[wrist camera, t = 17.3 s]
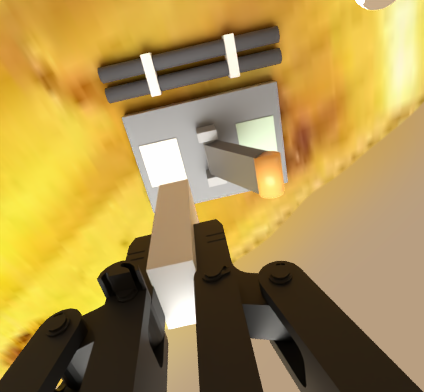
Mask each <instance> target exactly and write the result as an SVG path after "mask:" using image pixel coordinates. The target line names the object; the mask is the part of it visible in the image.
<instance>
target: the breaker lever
mask: <svg viewBox="0 0 424 392" xmlns="http://www.w3.org/2000/svg"><path fill="white" fill-rule="evenodd" d="M203 145H204V149H205V153H206V158H207V162H208V166H209V171H210V174H211V175H213V176H216V177H218V178H221V179H223V180H226V181H228V182H231V183H233V184H236V185H238V186H241V187H243V188H246V189H248V190H251V191H253V192H255V193H258V194H259V195H260V196H261V197H263V198H276V197H279V196H281V195H283V194H284V192H285V189H284V180H283V172H282V163H281V155H280V152H277V151H266V150H261V149H257V148H252V147H247V146H243V145H238V144H234V143H229V142H224V141H220V140H216V141H214V140H212V141H208V142H204V143H203Z"/></svg>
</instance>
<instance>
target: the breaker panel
mask: <svg viewBox="0 0 424 392" xmlns="http://www.w3.org/2000/svg"><path fill="white" fill-rule="evenodd" d="M122 120H123V123H124V126H125V129H126V132H127V135H128V138H129V141H130V144H131V147H132V150H133V153H134V156H135V159H136V162H137V165H138V168H139V171H140V174H141V177H142V180H143V183H144V185H145V188H146V191H147V194H148V197H149V200H150V203H151V206H152V209H153V212H154V213H155V209H156V202H157V196H158V189H159V185H163V184H167V183H172V182H176V181H181V180H185V179H188V182H189V185H190V189H191V193H192V197H193V201H194V204H195V203H200V202H204V201H208V200H213V199H217V198H222V197H226V196H230V195H235V194H239V193H243V192H248V191H251V190H248V189H246V188H243V187H241V186H238V185H236V184H233V183H231V182H228V181H226V180H223V179H221V178H218V177H216V176H213V175H211V174H210V171H209V166H208V162H207V158H206V153H205V149H204V145H203V143H204V142H208V141H212V140H214V141H216V140H220V141H224V142H229V143H234V144H238V145H243V146H247V147H252V148H257V149H261V150H266V151H277V152H280V155H281V163H282V172H283V180H284V183H287V182H288V179H287V170H286V161H285V152H284V143H283V134H282V125H281V116H280V107H279V98H278V89H277V82H276V81H268V82H264V83H260V84H256V85H251V86H247V87H243V88H238V89H234V90H230V91H226V92H221V93H217V94H213V95H208V96H204V97H200V98H196V99H191V100H187V101H183V102H178V103H174V104H170V105H166V106H161V107H157V108H153V109H149V110H144V111H140V112H136V113H131V114H127V115H124V116H123V117H122Z"/></svg>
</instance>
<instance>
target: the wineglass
mask: <svg viewBox="0 0 424 392" xmlns="http://www.w3.org/2000/svg"><path fill="white" fill-rule="evenodd" d="M354 1H355V2H356V4H357V5H359V6H360V7H361V8H363V9H365V10H369V11H378V10H381V9H384V8H386V7H388V6H390V5H391V4H392V3H394V2H395V1H396V0H354Z"/></svg>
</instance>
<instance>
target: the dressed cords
mask: <svg viewBox="0 0 424 392" xmlns="http://www.w3.org/2000/svg"><path fill="white" fill-rule="evenodd" d="M221 37H222V39H219V40H215V41H211V42H206V43H202V44H198V45H194V46H189V47H185V48H181V49H177V50H172V51H168V52H164V53H160V54H155V55H152V53H146V54H142V55H140V57H141V58H138V59H134V60H130V61H126V62H122V63H117V64H113V65H109V66H105V67H100V68H98V74H99V77H100V80H101V81H102V83H108V82H112V81H116V80H121V79H125V78H129V77H133V76H138V75H142V74H145V75H146V78H147V79H144V80H140V81H135V82H131V83H127V84H123V85H118V86H114V87H110V88H106V89H105V94H106V97H107V100H108V101H109V103H114V102H118V101H122V100H126V99H131V98H135V97H139V96H143V95H148V94H151V96H152V97H154V96H158V95H161V94H162V91H165V90H169V89H173V88H178V87H182V86H186V85H190V84H195V83H199V82H203V81H207V80H212V79H216V78H220V77H225V76H228V77H229V78H235V77H239V76H240V73H242V72H246V71H250V70H254V69H259V68H263V67H267V66H272V65H276V64H280V63H281V61H282V55H281V50H280V48H276V49H272V50H267V51H263V52H259V53H254V54H250V55H246V56H242V57H237V53H236V52H240V51H244V50H248V49H252V48H257V47H261V46H265V45H269V44H274V43H278V42H279V38H280V35H279V29H278V27H277V26H274V27H270V28H266V29H261V30H257V31H253V32H249V33H244V34H240V35H236V36H234V34H233V33H231V34H226V35H223V36H221ZM223 55H225V61H220V62H216V63H212V64H208V65H203V66H199V67H195V68H191V69H186V70H182V71H178V72H174V73H169V74H165V75H161V76H158V75H157V71H159V70H163V69H167V68H172V67H176V66H180V65H184V64H189V63H193V62H197V61H201V60H206V59H210V58H214V57H218V56H223Z"/></svg>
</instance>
